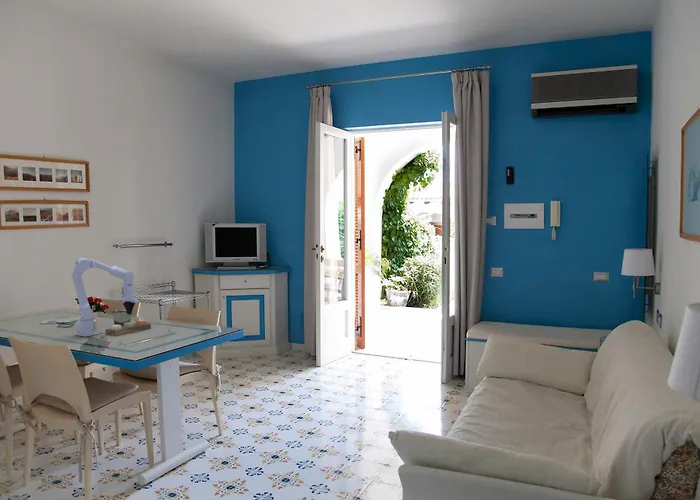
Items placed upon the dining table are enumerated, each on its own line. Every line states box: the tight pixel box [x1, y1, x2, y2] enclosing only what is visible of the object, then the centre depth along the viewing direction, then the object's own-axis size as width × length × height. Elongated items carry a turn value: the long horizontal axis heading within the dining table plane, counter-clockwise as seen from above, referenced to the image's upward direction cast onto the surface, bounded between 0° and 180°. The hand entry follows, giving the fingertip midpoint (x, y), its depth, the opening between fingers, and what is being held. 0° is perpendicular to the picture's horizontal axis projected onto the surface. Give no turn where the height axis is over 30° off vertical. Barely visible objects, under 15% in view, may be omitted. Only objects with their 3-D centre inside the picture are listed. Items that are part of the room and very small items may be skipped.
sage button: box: [124, 321, 135, 327], centre depth 334 cm, size 4×4×3 cm
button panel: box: [105, 322, 152, 337], centre depth 334 cm, size 9×24×3 cm, turn 148°
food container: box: [111, 308, 132, 326], centre depth 352 cm, size 12×6×10 cm, turn 84°
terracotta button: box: [135, 319, 147, 325], centre depth 341 cm, size 4×4×3 cm
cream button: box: [110, 325, 121, 330], centre depth 327 cm, size 4×4×3 cm
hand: (129, 314), depth 337 cm, fingers closed
